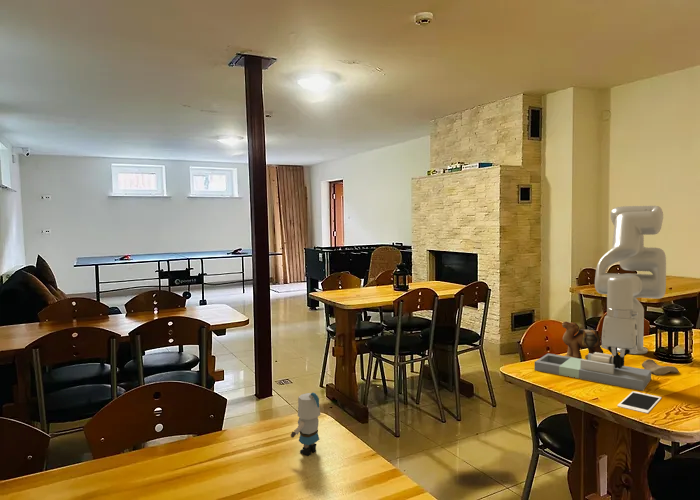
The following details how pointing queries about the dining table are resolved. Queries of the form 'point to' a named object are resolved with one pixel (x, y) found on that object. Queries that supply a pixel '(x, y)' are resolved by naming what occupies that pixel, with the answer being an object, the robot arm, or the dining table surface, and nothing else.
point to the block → (601, 358)
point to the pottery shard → (658, 368)
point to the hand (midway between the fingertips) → (618, 367)
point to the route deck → (594, 371)
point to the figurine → (580, 340)
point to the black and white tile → (639, 402)
